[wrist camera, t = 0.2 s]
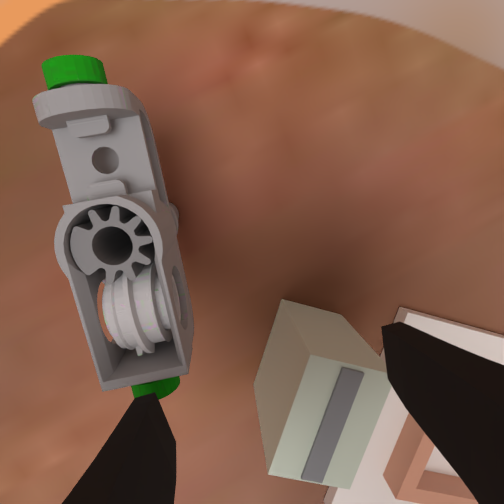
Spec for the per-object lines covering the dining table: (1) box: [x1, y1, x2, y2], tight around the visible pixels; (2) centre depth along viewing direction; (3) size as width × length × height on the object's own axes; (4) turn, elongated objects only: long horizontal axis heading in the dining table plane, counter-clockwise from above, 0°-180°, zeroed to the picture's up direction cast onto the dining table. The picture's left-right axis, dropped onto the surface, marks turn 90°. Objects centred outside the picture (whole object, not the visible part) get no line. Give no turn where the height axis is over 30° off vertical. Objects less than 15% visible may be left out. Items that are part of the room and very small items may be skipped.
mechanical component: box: [33, 55, 194, 400], centre depth 15 cm, size 3×10×10 cm, turn 10°
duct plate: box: [324, 307, 504, 504], centre depth 23 cm, size 15×15×3 cm
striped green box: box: [253, 299, 392, 490], centre depth 18 cm, size 6×4×7 cm, turn 163°
